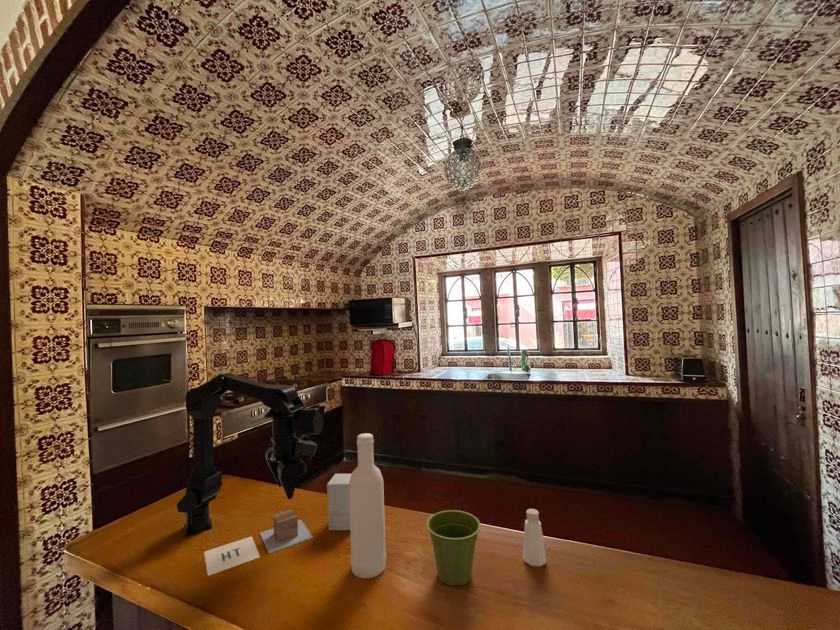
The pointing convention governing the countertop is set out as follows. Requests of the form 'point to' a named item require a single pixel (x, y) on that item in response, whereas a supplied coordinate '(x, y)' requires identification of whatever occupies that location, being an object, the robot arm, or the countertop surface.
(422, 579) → the countertop surface
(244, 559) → the card
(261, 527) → the countertop surface
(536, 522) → the salt shaker
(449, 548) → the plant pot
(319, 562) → the countertop surface
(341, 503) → the supplement box
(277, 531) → the walnut block
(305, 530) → the grey mat
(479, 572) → the countertop surface
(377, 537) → the bottle
